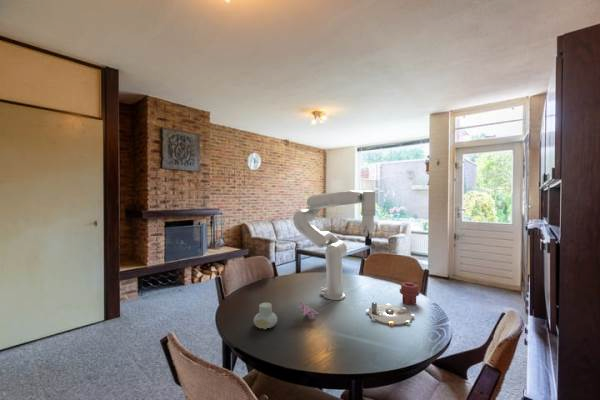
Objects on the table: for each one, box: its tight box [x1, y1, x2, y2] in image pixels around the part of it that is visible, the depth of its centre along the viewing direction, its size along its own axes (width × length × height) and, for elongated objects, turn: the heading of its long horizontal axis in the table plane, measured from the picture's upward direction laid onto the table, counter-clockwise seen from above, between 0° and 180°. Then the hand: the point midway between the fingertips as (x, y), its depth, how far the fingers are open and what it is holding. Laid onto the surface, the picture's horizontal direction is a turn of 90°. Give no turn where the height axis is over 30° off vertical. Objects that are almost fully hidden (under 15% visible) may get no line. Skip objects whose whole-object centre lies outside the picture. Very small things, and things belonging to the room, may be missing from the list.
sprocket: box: [365, 301, 415, 327], centre depth 135 cm, size 22×22×6 cm
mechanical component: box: [399, 281, 420, 306], centre depth 151 cm, size 12×10×10 cm
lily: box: [296, 299, 319, 323], centre depth 133 cm, size 12×12×10 cm
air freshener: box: [253, 302, 278, 330], centre depth 127 cm, size 11×8×10 cm
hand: (368, 245), depth 154 cm, fingers closed
